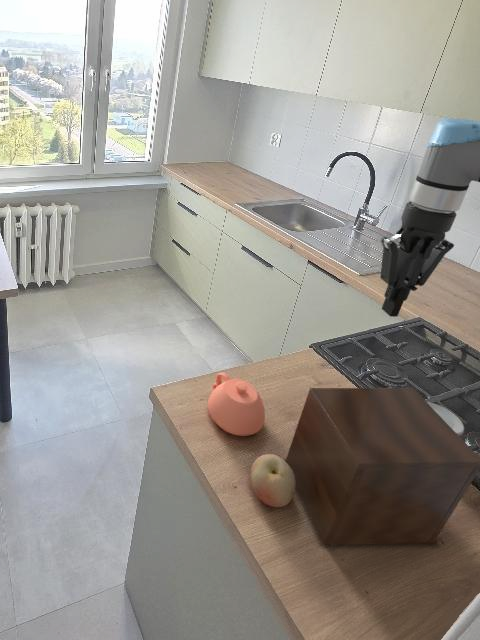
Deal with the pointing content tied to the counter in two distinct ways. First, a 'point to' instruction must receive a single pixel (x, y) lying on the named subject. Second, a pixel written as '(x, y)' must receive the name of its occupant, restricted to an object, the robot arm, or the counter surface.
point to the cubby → (378, 466)
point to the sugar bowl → (236, 406)
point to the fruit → (272, 480)
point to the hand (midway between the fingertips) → (389, 312)
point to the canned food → (449, 418)
